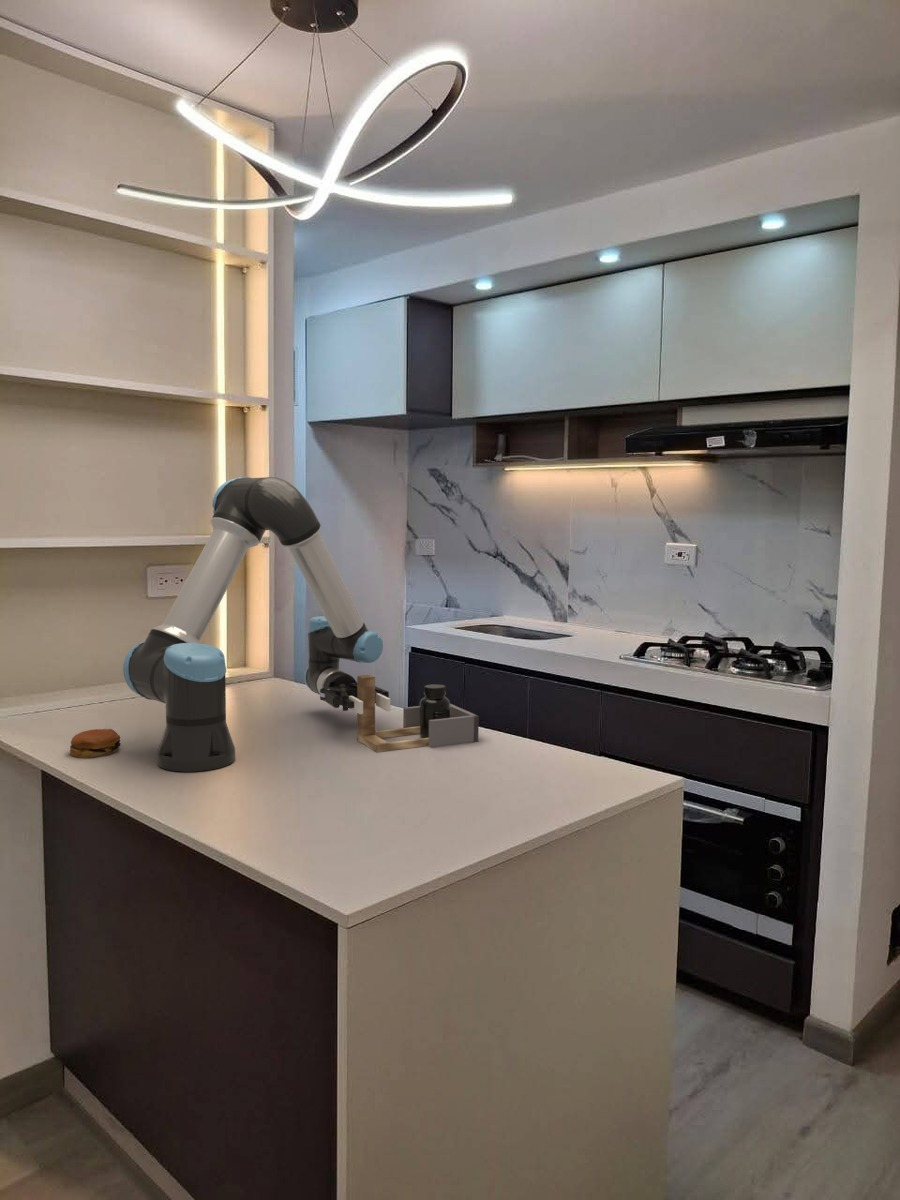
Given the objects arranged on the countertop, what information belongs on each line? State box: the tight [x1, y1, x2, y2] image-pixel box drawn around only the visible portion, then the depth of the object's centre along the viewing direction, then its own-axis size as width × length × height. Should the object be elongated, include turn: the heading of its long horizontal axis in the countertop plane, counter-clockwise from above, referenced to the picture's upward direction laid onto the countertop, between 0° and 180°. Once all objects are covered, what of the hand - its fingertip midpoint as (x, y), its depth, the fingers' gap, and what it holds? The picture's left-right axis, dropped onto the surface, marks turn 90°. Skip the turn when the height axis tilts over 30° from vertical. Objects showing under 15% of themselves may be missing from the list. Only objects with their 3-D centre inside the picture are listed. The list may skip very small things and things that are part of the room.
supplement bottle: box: [419, 684, 451, 739], centre depth 199 cm, size 7×7×12 cm
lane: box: [402, 703, 480, 749], centre depth 200 cm, size 12×14×6 cm
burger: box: [69, 728, 122, 759], centre depth 185 cm, size 10×9×5 cm
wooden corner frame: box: [356, 674, 429, 753], centre depth 196 cm, size 22×11×14 cm, turn 118°
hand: (375, 706), depth 191 cm, fingers open, 6 cm apart
